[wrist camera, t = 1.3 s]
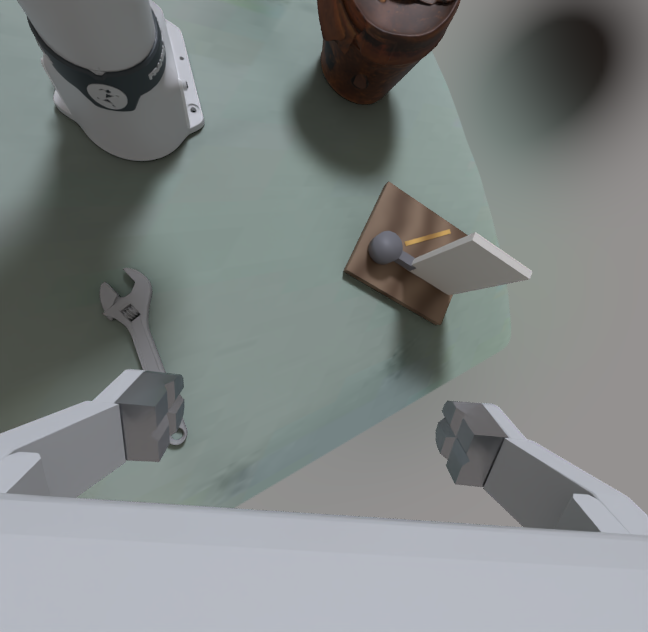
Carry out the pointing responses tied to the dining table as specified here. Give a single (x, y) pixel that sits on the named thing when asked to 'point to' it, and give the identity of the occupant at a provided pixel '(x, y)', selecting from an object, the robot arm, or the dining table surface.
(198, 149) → the dining table surface
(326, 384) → the dining table surface
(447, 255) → the white upright panel
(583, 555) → the robot arm
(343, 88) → the case
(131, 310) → the adjustable wrench
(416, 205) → the dial board
